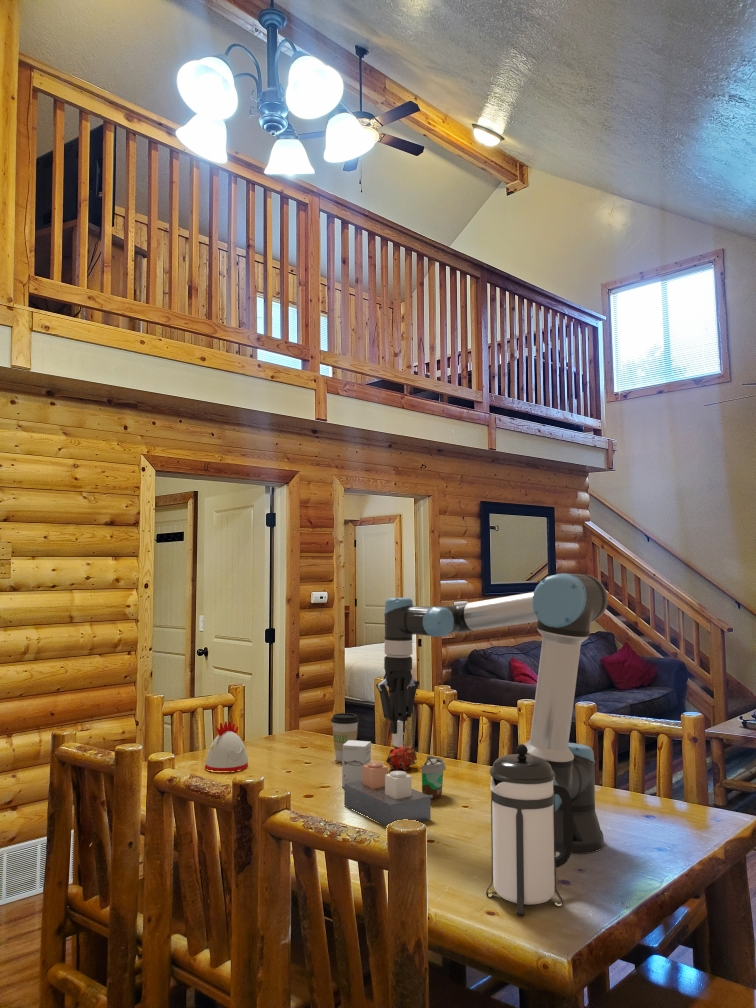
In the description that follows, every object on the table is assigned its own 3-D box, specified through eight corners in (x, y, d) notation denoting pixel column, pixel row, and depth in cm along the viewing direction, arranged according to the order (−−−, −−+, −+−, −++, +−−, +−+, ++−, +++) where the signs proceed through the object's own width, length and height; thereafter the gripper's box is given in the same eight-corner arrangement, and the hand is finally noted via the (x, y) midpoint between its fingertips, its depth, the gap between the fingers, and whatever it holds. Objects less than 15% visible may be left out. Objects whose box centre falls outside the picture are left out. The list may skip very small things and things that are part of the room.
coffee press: (563, 925, 132) (560, 757, 135) (478, 910, 138) (476, 749, 141) (574, 887, 148) (571, 737, 151) (497, 875, 154) (495, 731, 157)
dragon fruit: (419, 772, 240) (389, 782, 234) (406, 752, 246) (376, 762, 240) (425, 754, 236) (395, 765, 230) (412, 735, 242) (382, 744, 236)
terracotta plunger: (387, 789, 199) (387, 764, 199) (372, 792, 196) (372, 767, 196) (377, 784, 203) (377, 760, 203) (362, 787, 200) (362, 763, 201)
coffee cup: (327, 757, 253) (328, 713, 255) (354, 755, 256) (354, 712, 258) (334, 764, 244) (334, 718, 245) (362, 762, 247) (362, 717, 248)
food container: (443, 803, 202) (443, 767, 203) (421, 802, 203) (421, 765, 204) (447, 791, 214) (447, 756, 215) (427, 789, 215) (427, 755, 216)
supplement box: (341, 787, 217) (341, 744, 218) (348, 781, 224) (348, 739, 225) (365, 789, 215) (365, 746, 216) (371, 782, 222) (371, 740, 224)
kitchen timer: (197, 766, 240) (199, 720, 241) (233, 760, 249) (234, 715, 251) (219, 775, 230) (220, 727, 231) (255, 768, 239) (256, 721, 240)
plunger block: (430, 819, 189) (430, 796, 189) (389, 829, 182) (390, 804, 182) (382, 798, 207) (383, 776, 208) (344, 806, 200) (344, 783, 200)
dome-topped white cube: (411, 799, 190) (411, 773, 190) (395, 803, 187) (396, 776, 187) (400, 794, 194) (400, 769, 194) (384, 798, 191) (385, 772, 192)
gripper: (409, 652, 201) (408, 739, 198) (370, 655, 193) (369, 745, 191) (426, 655, 194) (425, 745, 192) (386, 658, 187) (385, 751, 185)
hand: (397, 745), depth 192 cm, fingers closed
